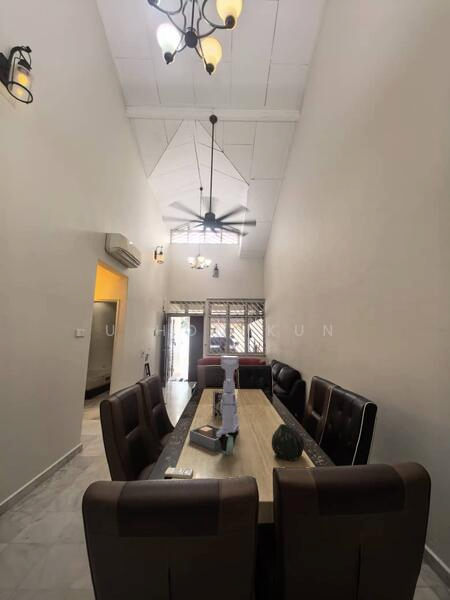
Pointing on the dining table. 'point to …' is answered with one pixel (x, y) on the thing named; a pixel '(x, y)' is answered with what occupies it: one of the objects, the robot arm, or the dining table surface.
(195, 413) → the dining table surface
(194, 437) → the tray
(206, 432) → the terracotta cube
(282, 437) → the squash
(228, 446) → the sage cylinder
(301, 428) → the dining table surface
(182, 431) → the dining table surface
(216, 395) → the coffee box
